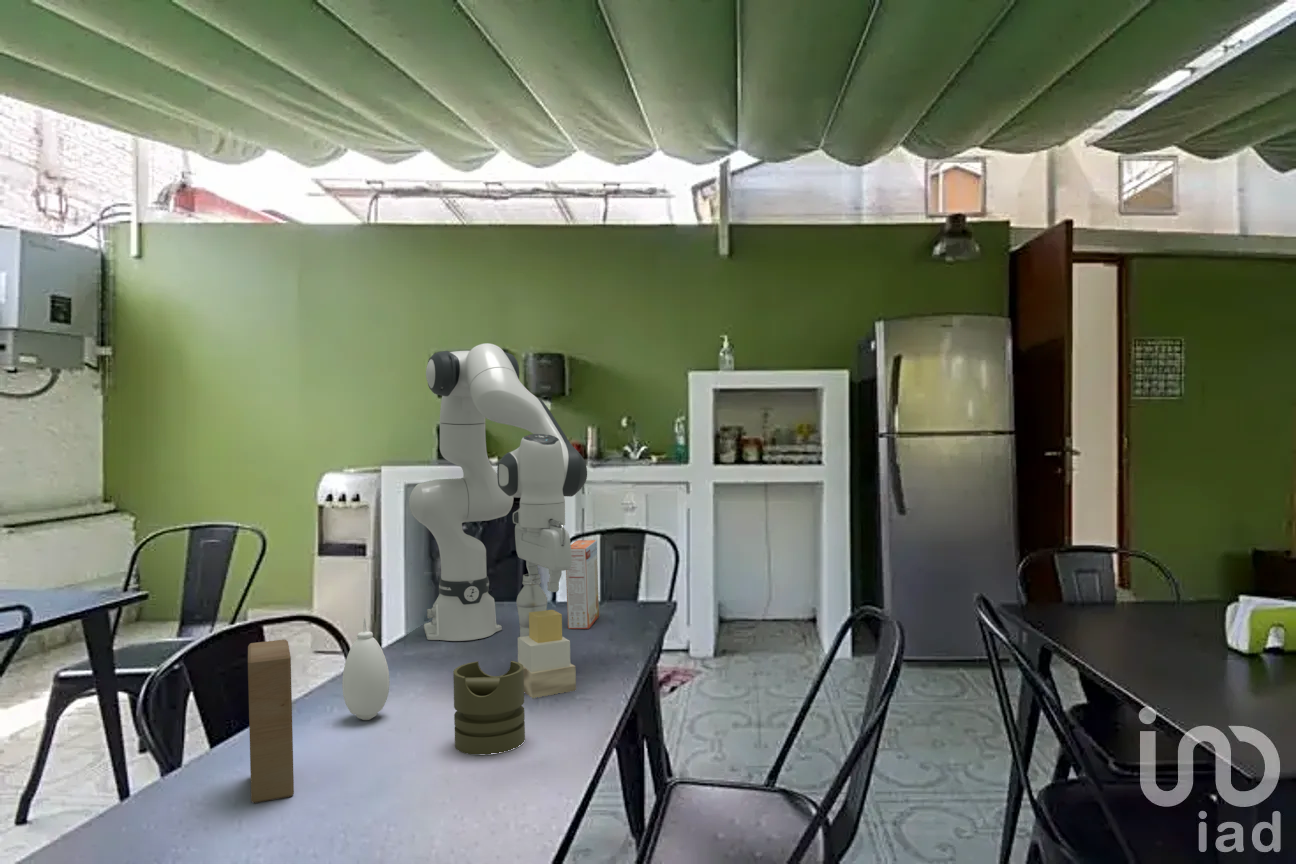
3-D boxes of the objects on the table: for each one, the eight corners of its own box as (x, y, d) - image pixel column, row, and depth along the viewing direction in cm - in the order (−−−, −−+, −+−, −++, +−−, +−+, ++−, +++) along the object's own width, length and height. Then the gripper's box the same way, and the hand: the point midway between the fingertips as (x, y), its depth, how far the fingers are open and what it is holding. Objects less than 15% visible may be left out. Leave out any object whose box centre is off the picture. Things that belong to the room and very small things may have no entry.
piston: (516, 678, 136) (445, 679, 137) (518, 754, 137) (446, 755, 137) (528, 659, 148) (462, 660, 148) (530, 729, 148) (464, 730, 148)
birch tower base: (515, 687, 173) (515, 662, 173) (557, 680, 177) (557, 655, 177) (532, 699, 165) (532, 673, 165) (575, 691, 169) (575, 666, 169)
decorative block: (251, 775, 130) (248, 642, 130) (292, 769, 132) (289, 638, 132) (249, 805, 120) (246, 660, 120) (294, 797, 122) (290, 655, 122)
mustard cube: (553, 634, 174) (552, 609, 174) (562, 639, 170) (561, 614, 170) (529, 637, 172) (528, 612, 172) (538, 643, 168) (537, 617, 168)
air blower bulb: (398, 713, 158) (396, 614, 157) (371, 727, 150) (369, 623, 150) (362, 709, 160) (360, 612, 160) (334, 723, 153) (331, 621, 153)
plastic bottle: (544, 674, 181) (542, 578, 181) (513, 672, 182) (511, 577, 182) (553, 665, 187) (551, 572, 187) (523, 664, 188) (521, 572, 188)
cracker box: (577, 617, 234) (576, 539, 234) (599, 617, 233) (598, 539, 233) (565, 629, 220) (564, 547, 220) (589, 629, 219) (587, 547, 219)
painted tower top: (518, 662, 173) (517, 637, 173) (556, 656, 176) (555, 632, 176) (531, 672, 165) (530, 646, 165) (570, 666, 169) (569, 640, 169)
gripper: (579, 521, 163) (580, 594, 163) (538, 511, 181) (539, 577, 181) (548, 523, 160) (549, 598, 160) (509, 513, 178) (510, 580, 178)
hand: (543, 587), depth 171 cm, fingers open, 8 cm apart
